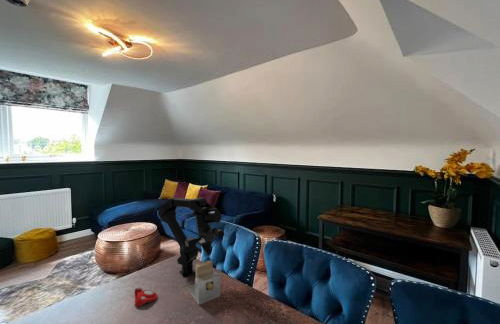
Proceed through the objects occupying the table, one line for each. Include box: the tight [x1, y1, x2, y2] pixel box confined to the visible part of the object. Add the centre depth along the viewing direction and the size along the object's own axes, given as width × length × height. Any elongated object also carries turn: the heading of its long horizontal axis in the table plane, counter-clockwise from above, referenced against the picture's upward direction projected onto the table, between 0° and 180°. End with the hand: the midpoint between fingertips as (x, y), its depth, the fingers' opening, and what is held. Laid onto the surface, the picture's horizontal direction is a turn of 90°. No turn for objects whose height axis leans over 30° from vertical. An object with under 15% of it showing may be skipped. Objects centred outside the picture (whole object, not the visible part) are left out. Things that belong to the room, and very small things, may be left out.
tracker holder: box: [133, 286, 158, 307], centre depth 100 cm, size 12×4×10 cm
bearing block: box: [186, 271, 221, 305], centre depth 105 cm, size 15×10×10 cm
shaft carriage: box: [195, 260, 214, 291], centre depth 101 cm, size 8×7×13 cm
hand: (208, 255), depth 114 cm, fingers closed
